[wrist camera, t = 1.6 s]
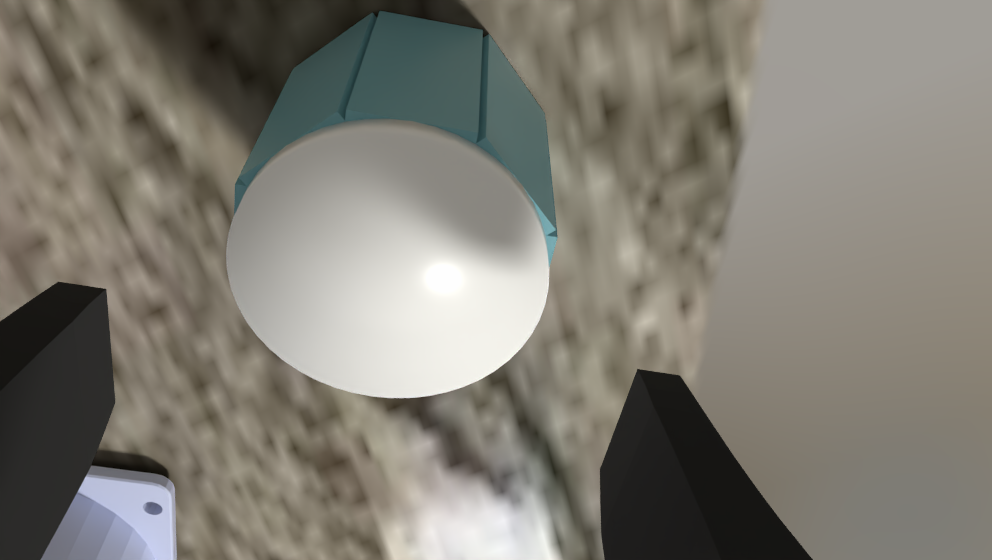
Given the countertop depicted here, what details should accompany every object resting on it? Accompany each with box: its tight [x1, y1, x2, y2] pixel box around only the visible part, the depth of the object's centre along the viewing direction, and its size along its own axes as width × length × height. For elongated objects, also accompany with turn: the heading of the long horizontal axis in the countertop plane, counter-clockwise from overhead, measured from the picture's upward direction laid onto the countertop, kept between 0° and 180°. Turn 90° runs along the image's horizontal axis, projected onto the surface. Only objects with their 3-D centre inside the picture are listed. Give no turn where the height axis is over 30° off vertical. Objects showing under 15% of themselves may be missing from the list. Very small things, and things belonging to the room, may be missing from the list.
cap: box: [226, 11, 557, 398], centre depth 16 cm, size 5×5×5 cm
